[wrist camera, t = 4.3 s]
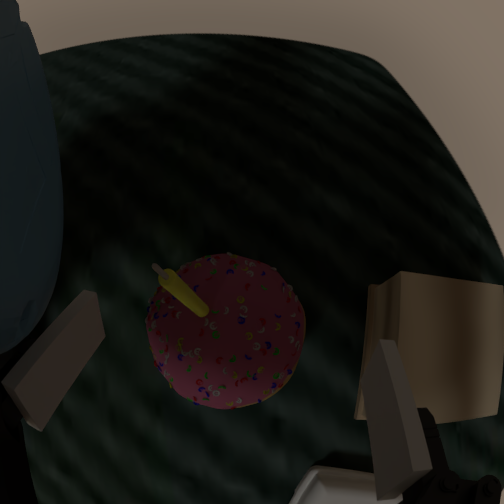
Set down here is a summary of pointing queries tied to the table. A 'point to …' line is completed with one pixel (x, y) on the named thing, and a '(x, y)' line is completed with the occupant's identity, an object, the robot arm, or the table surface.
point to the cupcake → (225, 330)
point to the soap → (337, 487)
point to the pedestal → (440, 341)
